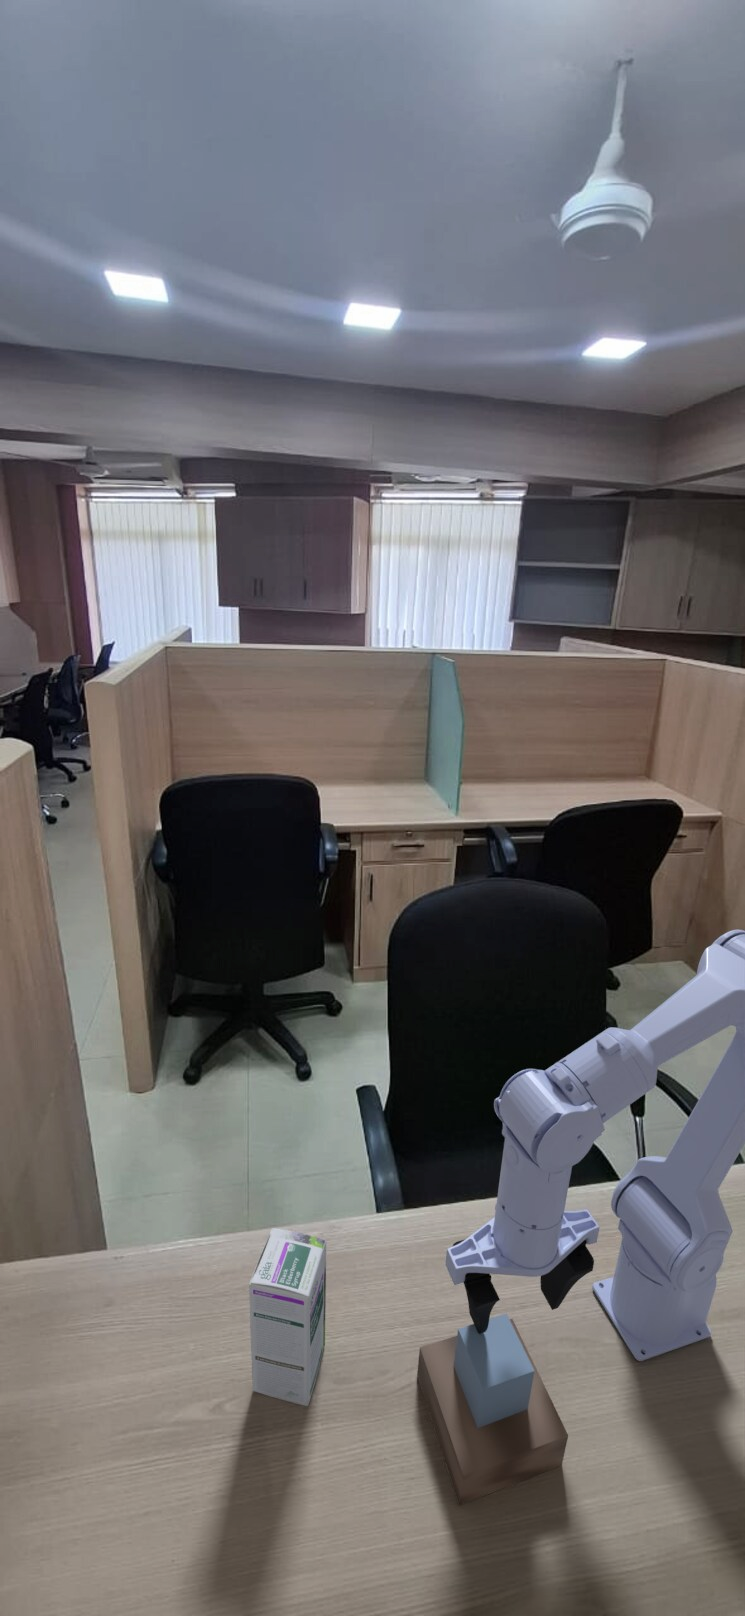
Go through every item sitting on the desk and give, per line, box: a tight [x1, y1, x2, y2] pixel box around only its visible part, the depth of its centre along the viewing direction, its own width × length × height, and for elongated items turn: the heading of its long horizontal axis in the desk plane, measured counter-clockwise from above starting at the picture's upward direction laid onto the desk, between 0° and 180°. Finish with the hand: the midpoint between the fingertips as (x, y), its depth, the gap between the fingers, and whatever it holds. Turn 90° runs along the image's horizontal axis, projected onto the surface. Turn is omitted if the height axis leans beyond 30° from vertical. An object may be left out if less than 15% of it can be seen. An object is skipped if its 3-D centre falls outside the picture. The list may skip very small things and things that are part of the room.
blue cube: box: [454, 1313, 535, 1428], centre depth 59 cm, size 5×5×5 cm
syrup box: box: [248, 1227, 327, 1407], centre depth 62 cm, size 6×6×14 cm
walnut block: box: [416, 1318, 569, 1506], centre depth 60 cm, size 10×10×4 cm
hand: (513, 1310), depth 61 cm, fingers open, 7 cm apart
